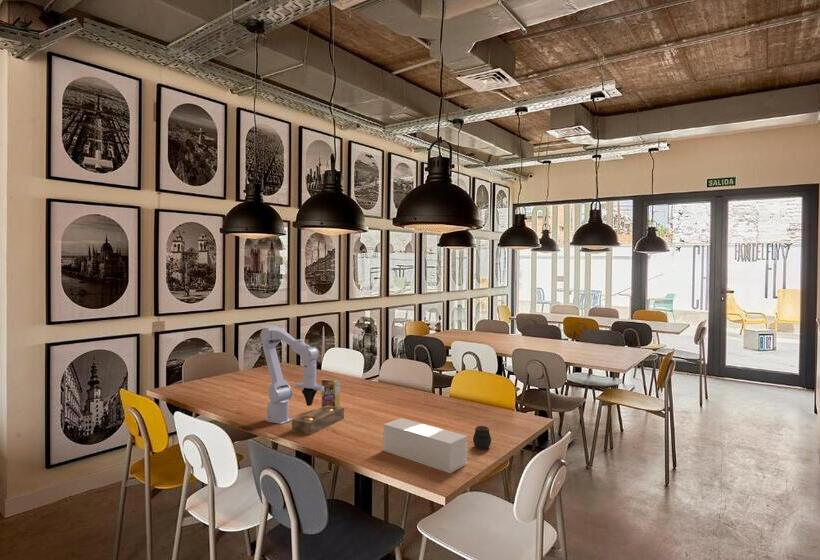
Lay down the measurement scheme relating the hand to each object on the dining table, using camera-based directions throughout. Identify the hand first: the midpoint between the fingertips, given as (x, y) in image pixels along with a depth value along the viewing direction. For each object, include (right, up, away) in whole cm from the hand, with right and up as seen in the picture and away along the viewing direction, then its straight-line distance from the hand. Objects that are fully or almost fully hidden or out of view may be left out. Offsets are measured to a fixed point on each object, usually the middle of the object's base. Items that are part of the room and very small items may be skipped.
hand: (309, 405), depth 214 cm
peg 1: (0, -10, -2) cm, 10 cm away
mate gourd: (+74, -12, -20) cm, 78 cm away
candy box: (+5, -10, +29) cm, 31 cm away
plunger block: (+3, -10, +6) cm, 12 cm away
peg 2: (+7, -10, +13) cm, 17 cm away
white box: (+50, -12, -31) cm, 60 cm away
